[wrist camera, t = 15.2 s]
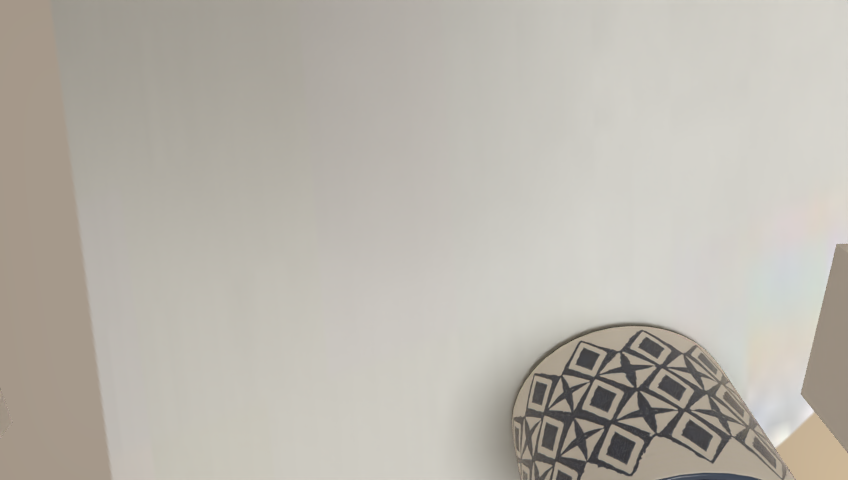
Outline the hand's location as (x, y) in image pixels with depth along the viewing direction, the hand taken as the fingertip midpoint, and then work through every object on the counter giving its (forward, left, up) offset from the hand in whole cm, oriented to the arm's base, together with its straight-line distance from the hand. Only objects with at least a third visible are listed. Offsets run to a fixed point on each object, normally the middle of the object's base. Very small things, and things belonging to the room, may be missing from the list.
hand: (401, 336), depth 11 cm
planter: (+28, +14, -32) cm, 45 cm away
